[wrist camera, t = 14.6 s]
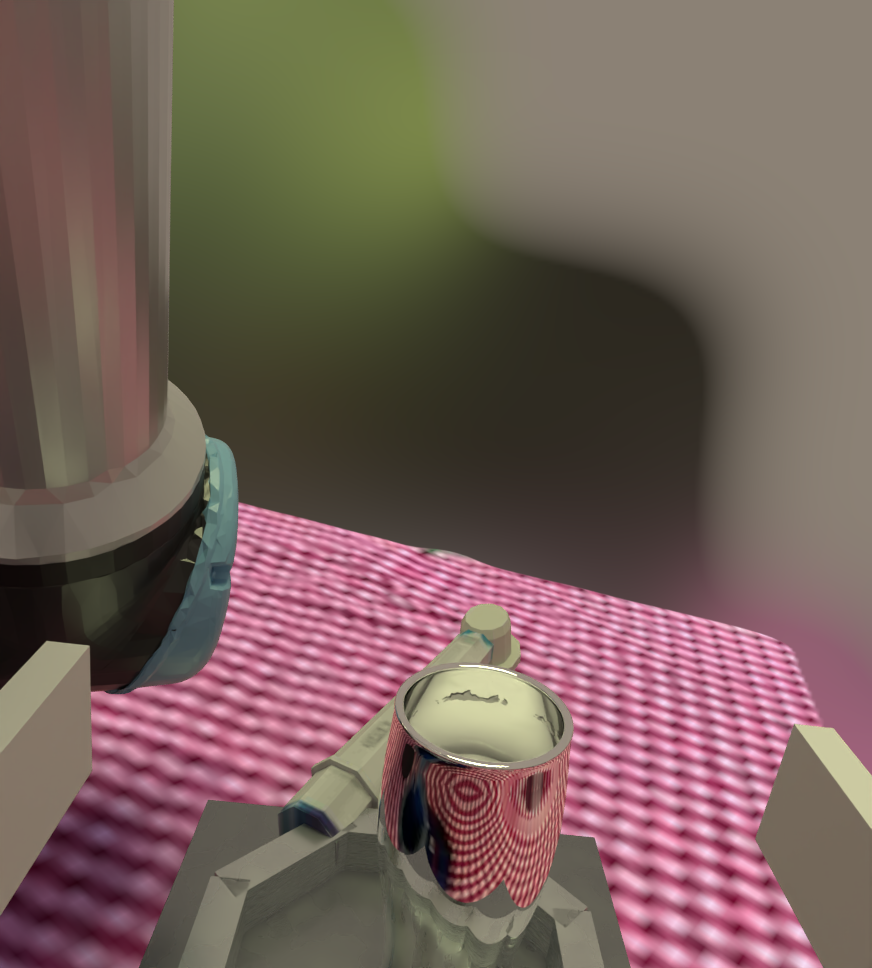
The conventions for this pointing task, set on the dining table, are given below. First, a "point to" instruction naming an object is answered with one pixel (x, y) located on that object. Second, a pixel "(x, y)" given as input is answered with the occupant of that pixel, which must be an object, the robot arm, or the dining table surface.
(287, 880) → the collar
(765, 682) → the dining table surface
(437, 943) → the chrome metal cup
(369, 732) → the beige knobbed rod
